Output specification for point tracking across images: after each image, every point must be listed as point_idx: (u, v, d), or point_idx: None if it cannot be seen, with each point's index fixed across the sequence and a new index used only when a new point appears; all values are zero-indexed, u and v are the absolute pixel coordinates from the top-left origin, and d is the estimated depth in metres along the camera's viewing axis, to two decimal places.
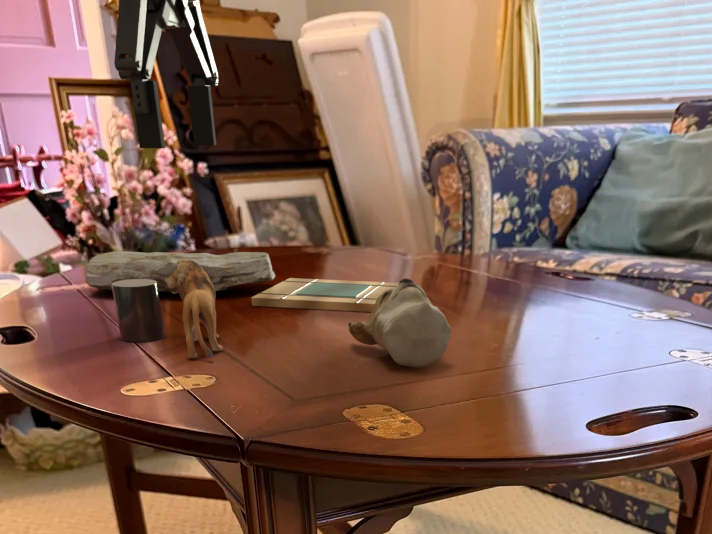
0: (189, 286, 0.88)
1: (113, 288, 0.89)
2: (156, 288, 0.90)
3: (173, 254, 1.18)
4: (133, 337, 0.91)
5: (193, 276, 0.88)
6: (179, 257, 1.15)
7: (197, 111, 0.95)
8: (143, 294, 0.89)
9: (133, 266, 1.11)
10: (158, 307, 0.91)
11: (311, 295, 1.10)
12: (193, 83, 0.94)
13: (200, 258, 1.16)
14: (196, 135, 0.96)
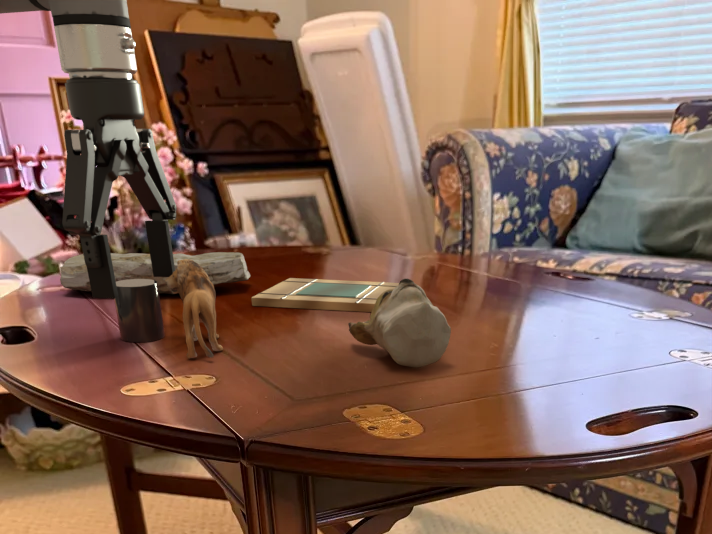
0: (188, 286, 0.88)
1: None
2: (156, 288, 0.90)
3: (148, 255, 1.18)
4: (133, 337, 0.91)
5: (193, 276, 0.88)
6: None
7: (155, 245, 0.94)
8: (143, 294, 0.89)
9: None
10: (158, 307, 0.91)
11: (311, 295, 1.10)
12: (151, 217, 0.93)
13: (174, 258, 1.16)
14: (155, 267, 0.95)
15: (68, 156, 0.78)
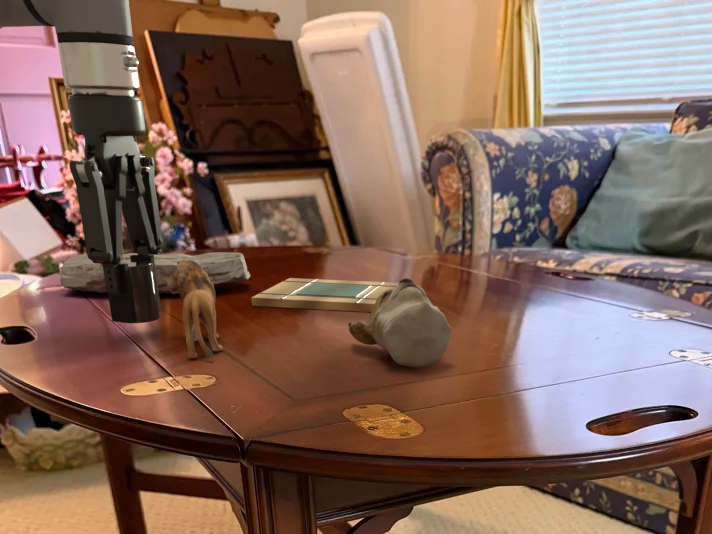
0: (188, 286, 0.88)
1: None
2: (151, 269, 0.89)
3: None
4: None
5: (193, 276, 0.88)
6: None
7: None
8: (138, 274, 0.88)
9: None
10: (153, 288, 0.90)
11: (311, 295, 1.10)
12: (136, 252, 0.92)
13: (174, 259, 1.16)
14: None
15: (78, 188, 0.80)
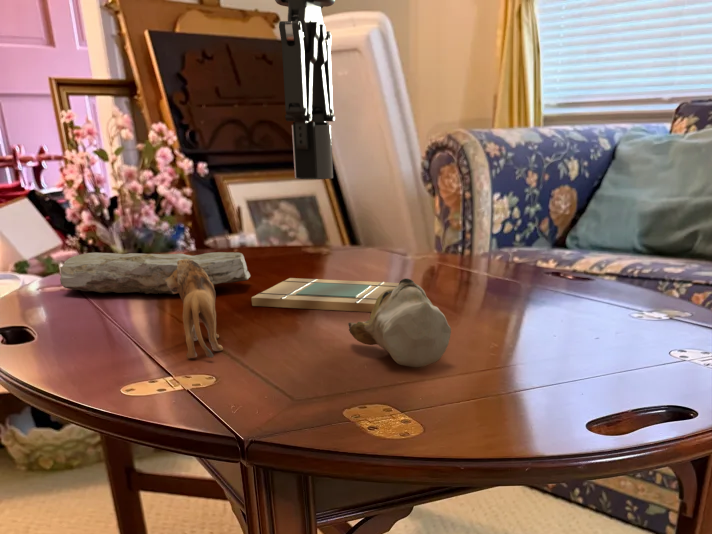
0: (188, 286, 0.88)
1: None
2: (330, 130, 1.01)
3: (148, 255, 1.18)
4: None
5: (193, 276, 0.88)
6: (153, 258, 1.15)
7: None
8: (322, 133, 1.00)
9: (107, 267, 1.12)
10: (331, 148, 1.02)
11: (311, 295, 1.10)
12: (312, 119, 1.04)
13: (174, 258, 1.16)
14: None
15: (283, 47, 0.92)
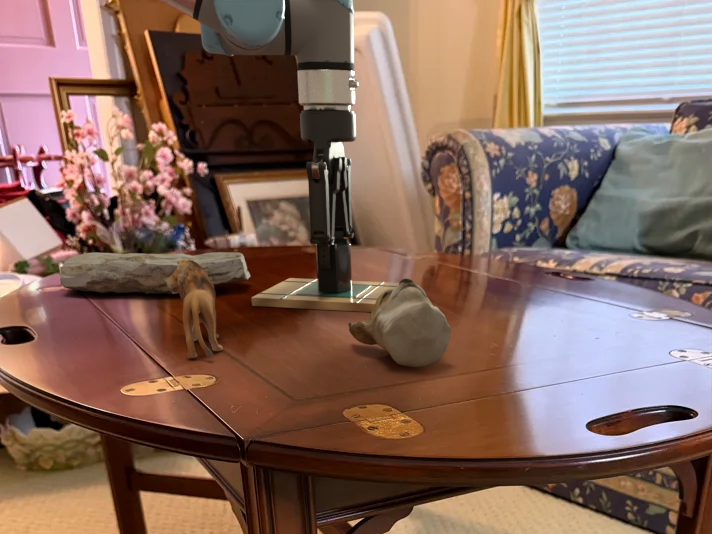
0: (188, 286, 0.88)
1: None
2: (350, 248, 1.11)
3: (148, 255, 1.18)
4: None
5: (193, 276, 0.88)
6: (153, 258, 1.15)
7: None
8: (343, 252, 1.09)
9: (107, 267, 1.12)
10: (350, 264, 1.11)
11: (311, 295, 1.10)
12: (333, 236, 1.13)
13: (174, 258, 1.16)
14: None
15: (309, 183, 1.01)
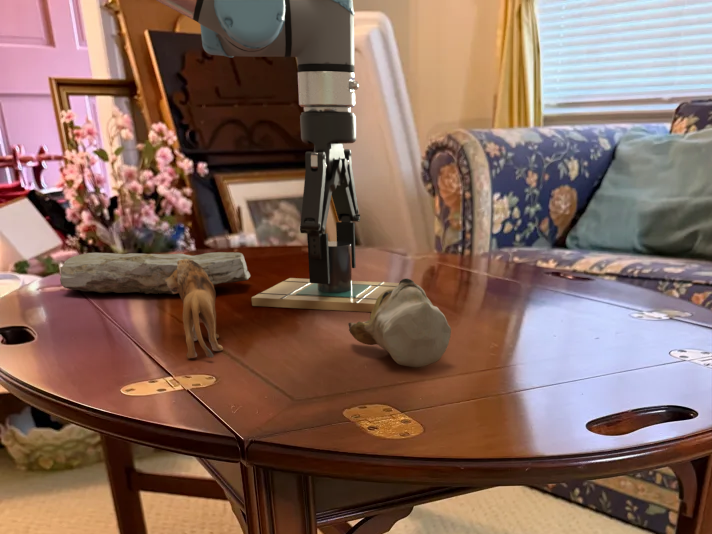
0: (188, 286, 0.88)
1: None
2: (350, 248, 1.11)
3: (148, 255, 1.18)
4: (331, 288, 1.11)
5: (193, 276, 0.88)
6: (153, 258, 1.15)
7: None
8: (343, 252, 1.09)
9: (107, 267, 1.12)
10: (351, 264, 1.12)
11: (311, 295, 1.10)
12: (340, 219, 1.16)
13: (174, 259, 1.16)
14: None
15: (306, 172, 1.00)
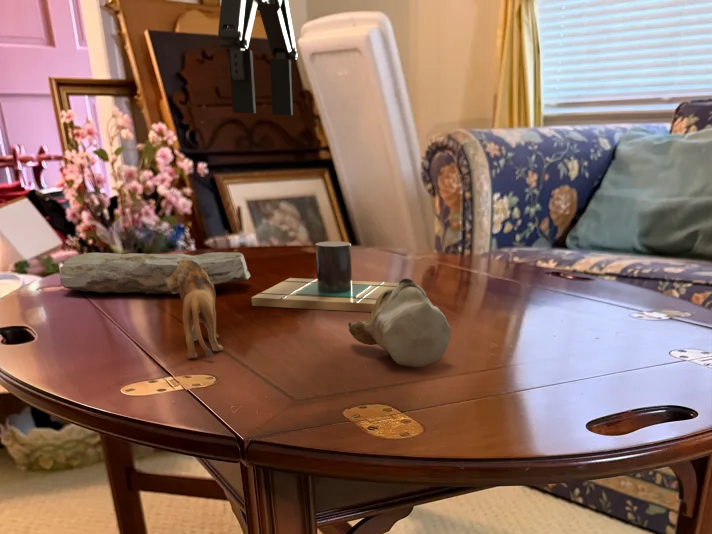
0: (188, 286, 0.88)
1: (318, 248, 1.09)
2: (350, 248, 1.11)
3: (148, 255, 1.18)
4: (331, 288, 1.11)
5: (193, 276, 0.88)
6: (153, 258, 1.15)
7: (277, 83, 1.03)
8: (343, 252, 1.09)
9: (107, 267, 1.12)
10: (351, 264, 1.12)
11: (311, 295, 1.10)
12: (274, 57, 1.03)
13: (174, 259, 1.16)
14: (275, 105, 1.05)
15: None
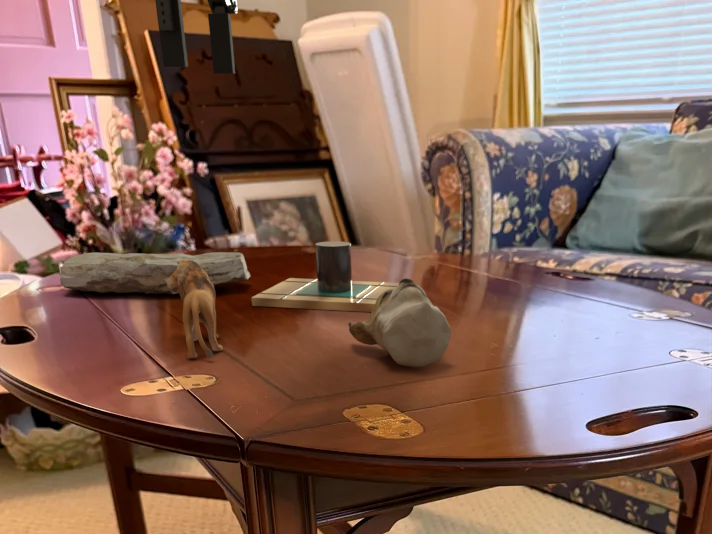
0: (189, 286, 0.88)
1: (318, 248, 1.09)
2: (350, 248, 1.11)
3: (148, 255, 1.18)
4: (331, 288, 1.11)
5: (193, 276, 0.88)
6: (153, 258, 1.15)
7: (217, 39, 0.98)
8: (343, 252, 1.09)
9: (107, 267, 1.12)
10: (351, 264, 1.12)
11: (311, 295, 1.10)
12: (213, 11, 0.97)
13: (174, 258, 1.16)
14: (216, 63, 0.99)
15: None
